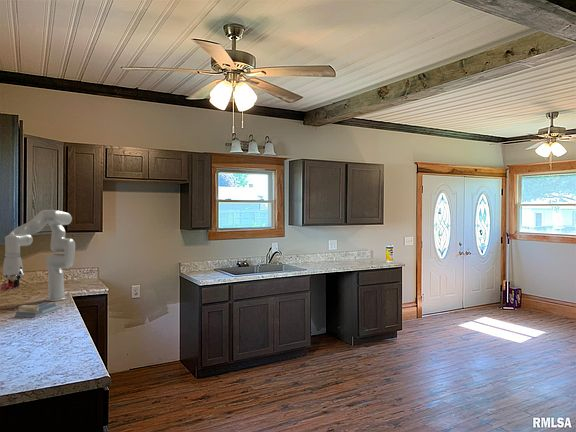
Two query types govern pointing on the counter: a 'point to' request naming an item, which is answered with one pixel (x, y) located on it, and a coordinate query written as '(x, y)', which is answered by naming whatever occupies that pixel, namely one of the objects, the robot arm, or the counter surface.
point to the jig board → (42, 310)
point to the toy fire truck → (9, 286)
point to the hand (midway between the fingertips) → (13, 285)
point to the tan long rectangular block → (28, 308)
